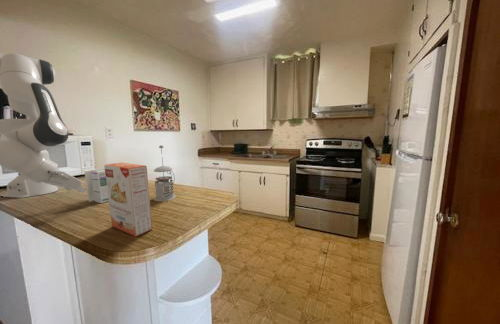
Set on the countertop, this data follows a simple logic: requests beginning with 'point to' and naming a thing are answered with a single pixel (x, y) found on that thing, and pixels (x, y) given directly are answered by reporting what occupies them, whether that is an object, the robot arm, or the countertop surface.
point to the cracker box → (129, 197)
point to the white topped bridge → (90, 184)
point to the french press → (164, 184)
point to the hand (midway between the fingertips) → (77, 189)
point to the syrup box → (99, 186)
